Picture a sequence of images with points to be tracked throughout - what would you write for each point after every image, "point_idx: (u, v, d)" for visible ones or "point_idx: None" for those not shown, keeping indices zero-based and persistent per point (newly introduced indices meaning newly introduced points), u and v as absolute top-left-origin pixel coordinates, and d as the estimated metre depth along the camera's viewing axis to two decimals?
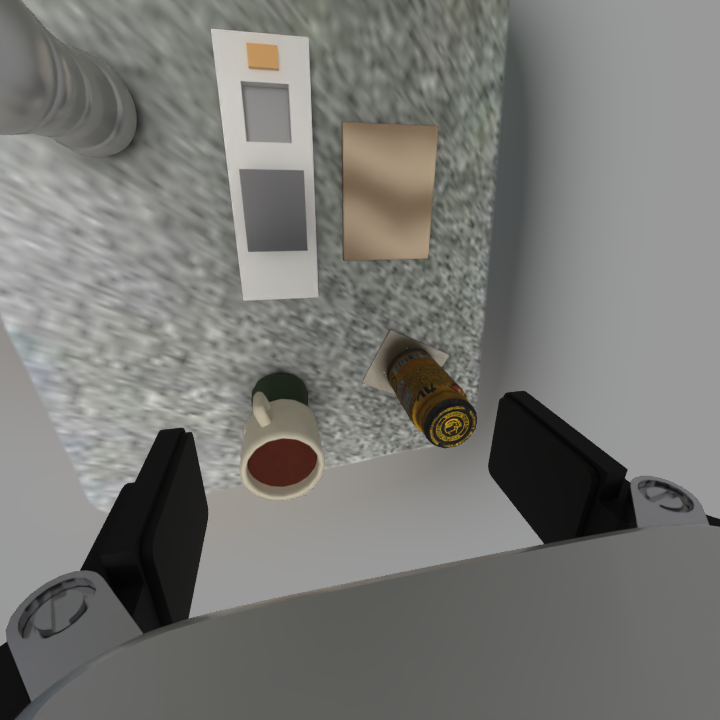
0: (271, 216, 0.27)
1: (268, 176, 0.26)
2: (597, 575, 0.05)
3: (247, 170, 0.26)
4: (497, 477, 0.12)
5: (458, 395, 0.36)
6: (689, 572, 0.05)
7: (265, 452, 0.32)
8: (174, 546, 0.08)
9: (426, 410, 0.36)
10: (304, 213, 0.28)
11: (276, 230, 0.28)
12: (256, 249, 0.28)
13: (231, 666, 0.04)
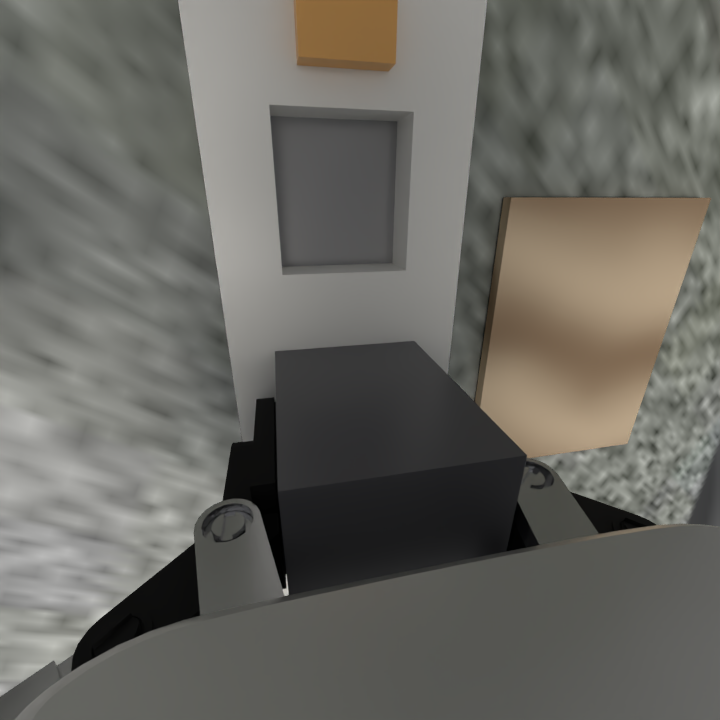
0: None
1: (395, 492, 0.06)
2: (596, 575, 0.05)
3: (313, 490, 0.06)
4: None
5: None
6: (689, 572, 0.05)
7: None
8: None
9: None
10: None
11: None
12: None
13: (231, 666, 0.04)
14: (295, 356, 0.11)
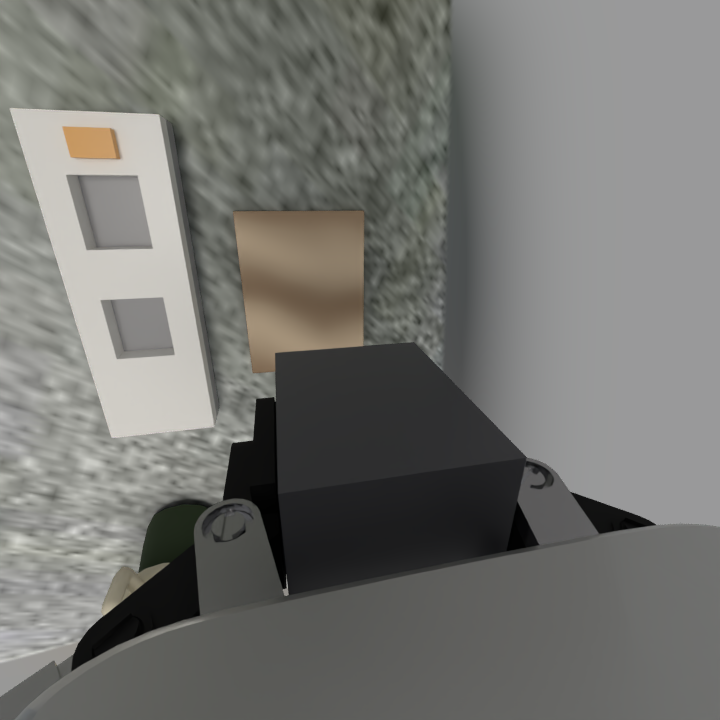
0: None
1: (395, 494, 0.07)
2: (596, 573, 0.05)
3: (313, 492, 0.06)
4: None
5: None
6: (689, 572, 0.05)
7: None
8: None
9: None
10: None
11: None
12: None
13: (231, 666, 0.04)
14: (295, 357, 0.11)
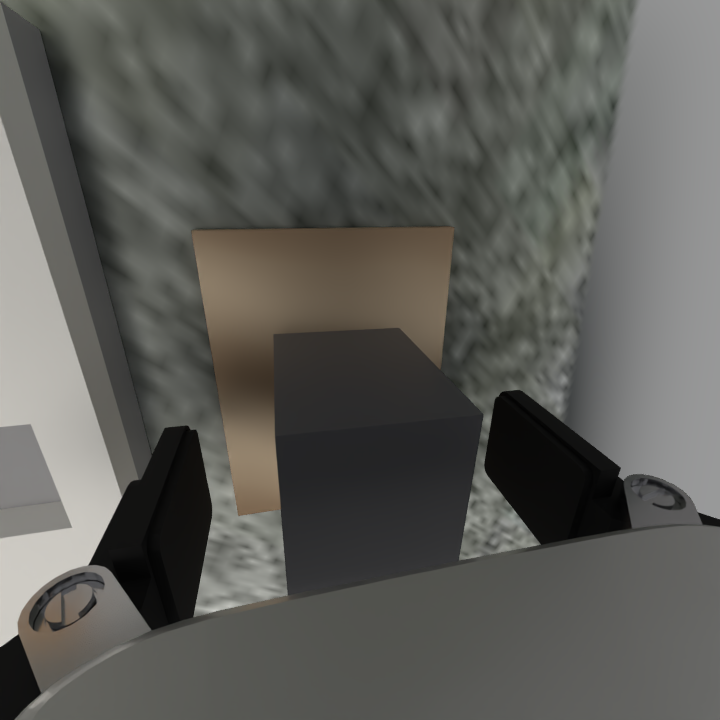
0: (368, 536, 0.09)
1: (372, 442, 0.08)
2: (596, 574, 0.05)
3: (303, 436, 0.07)
4: (493, 476, 0.12)
5: None
6: (689, 572, 0.05)
7: None
8: (180, 542, 0.08)
9: None
10: (462, 515, 0.09)
11: (376, 564, 0.09)
12: None
13: (231, 666, 0.04)
14: (291, 338, 0.12)
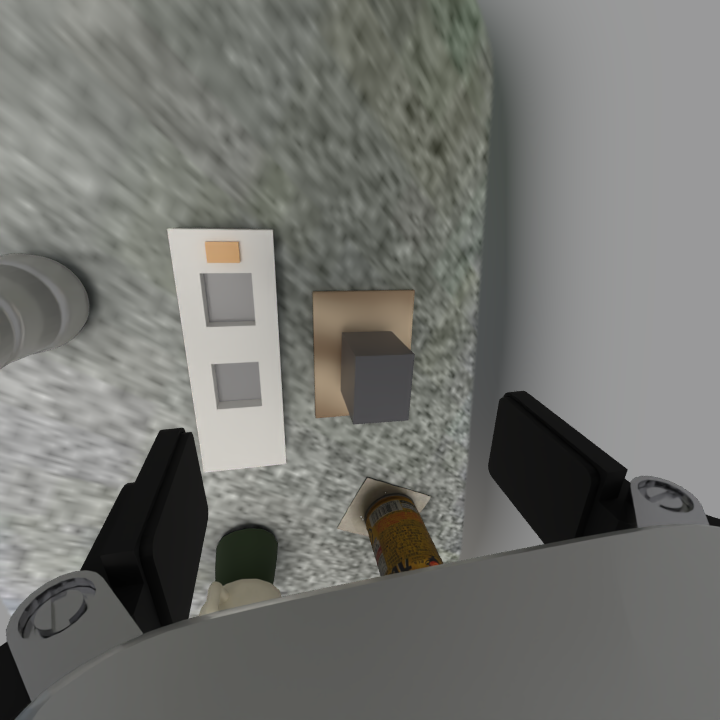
0: (379, 393, 0.28)
1: (381, 360, 0.27)
2: (596, 574, 0.05)
3: (363, 357, 0.27)
4: (497, 477, 0.12)
5: None
6: (689, 572, 0.05)
7: None
8: (174, 546, 0.08)
9: None
10: (409, 389, 0.29)
11: (381, 404, 0.29)
12: (361, 421, 0.29)
13: (231, 666, 0.04)
14: (349, 333, 0.32)
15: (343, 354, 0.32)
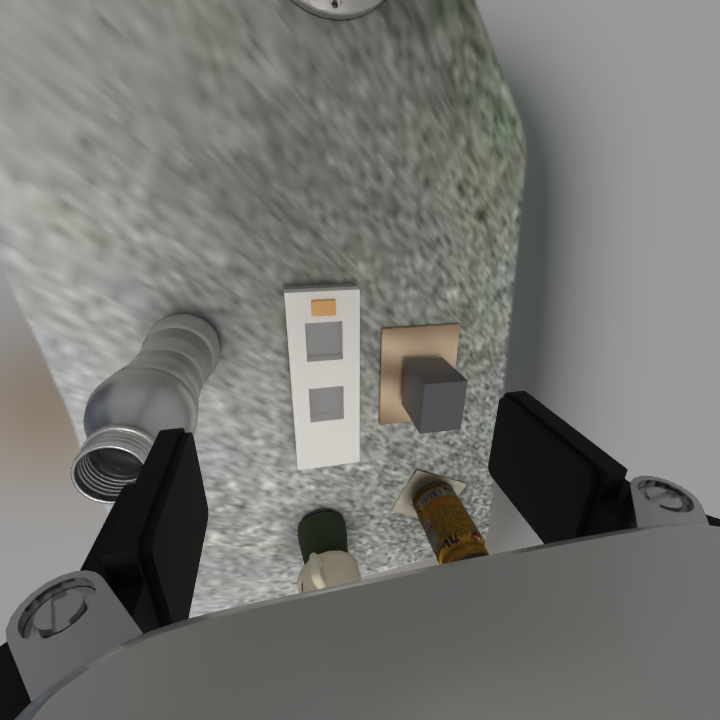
0: (440, 410, 0.37)
1: (443, 386, 0.36)
2: (596, 575, 0.05)
3: (430, 384, 0.36)
4: (497, 477, 0.12)
5: (478, 547, 0.42)
6: (689, 572, 0.05)
7: None
8: (174, 546, 0.08)
9: (451, 561, 0.42)
10: (462, 406, 0.38)
11: (441, 418, 0.38)
12: (425, 431, 0.38)
13: (231, 666, 0.04)
14: (411, 361, 0.41)
15: (406, 377, 0.41)
